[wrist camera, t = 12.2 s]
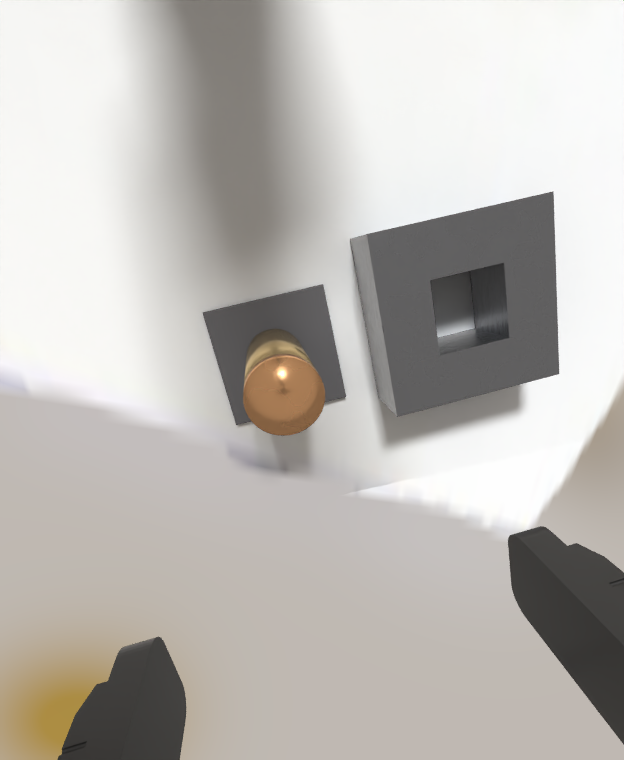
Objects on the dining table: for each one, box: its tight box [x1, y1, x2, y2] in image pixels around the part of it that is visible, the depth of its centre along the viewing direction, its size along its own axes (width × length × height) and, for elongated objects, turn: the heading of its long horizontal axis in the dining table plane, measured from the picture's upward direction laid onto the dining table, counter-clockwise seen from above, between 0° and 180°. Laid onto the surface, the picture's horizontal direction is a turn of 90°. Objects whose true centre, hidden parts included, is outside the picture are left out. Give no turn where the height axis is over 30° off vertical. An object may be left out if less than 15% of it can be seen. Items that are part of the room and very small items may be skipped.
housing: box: [350, 192, 559, 417], centre depth 32 cm, size 14×14×5 cm
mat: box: [203, 285, 346, 425], centre depth 34 cm, size 10×10×1 cm
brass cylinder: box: [243, 329, 325, 436], centre depth 28 cm, size 5×5×11 cm
